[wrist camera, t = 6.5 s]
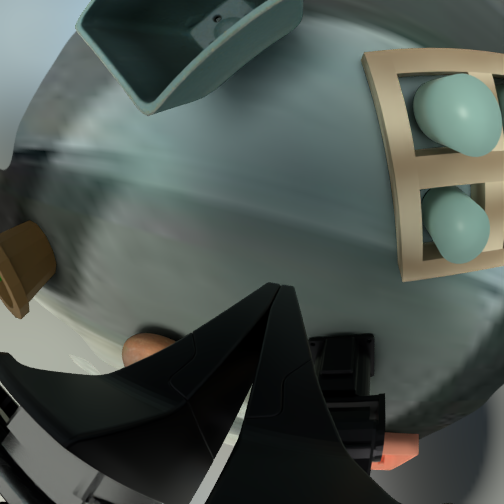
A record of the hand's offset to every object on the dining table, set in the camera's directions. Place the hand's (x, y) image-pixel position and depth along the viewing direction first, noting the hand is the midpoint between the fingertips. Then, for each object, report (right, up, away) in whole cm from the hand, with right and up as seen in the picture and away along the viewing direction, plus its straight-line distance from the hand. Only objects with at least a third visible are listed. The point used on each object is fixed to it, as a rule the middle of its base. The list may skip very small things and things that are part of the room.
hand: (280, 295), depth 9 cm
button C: (+10, +9, +2) cm, 14 cm away
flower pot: (-2, +17, +6) cm, 18 cm away
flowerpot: (-36, +2, +26) cm, 45 cm away
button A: (+13, +4, +7) cm, 15 cm away
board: (+15, +8, +4) cm, 17 cm away
